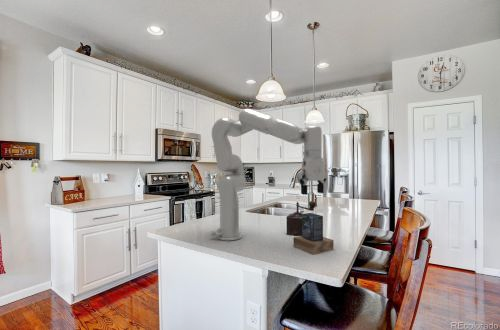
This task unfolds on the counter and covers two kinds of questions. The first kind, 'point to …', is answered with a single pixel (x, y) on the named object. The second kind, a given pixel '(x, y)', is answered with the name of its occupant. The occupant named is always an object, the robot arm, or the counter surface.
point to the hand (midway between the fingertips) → (312, 193)
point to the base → (313, 245)
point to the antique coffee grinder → (297, 220)
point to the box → (312, 227)
